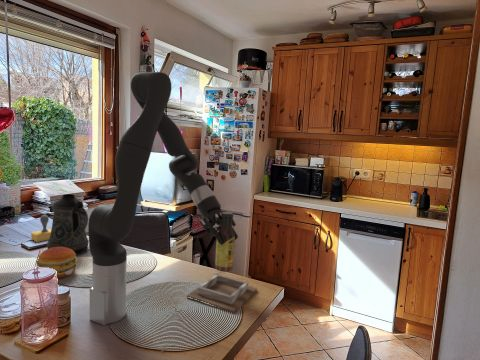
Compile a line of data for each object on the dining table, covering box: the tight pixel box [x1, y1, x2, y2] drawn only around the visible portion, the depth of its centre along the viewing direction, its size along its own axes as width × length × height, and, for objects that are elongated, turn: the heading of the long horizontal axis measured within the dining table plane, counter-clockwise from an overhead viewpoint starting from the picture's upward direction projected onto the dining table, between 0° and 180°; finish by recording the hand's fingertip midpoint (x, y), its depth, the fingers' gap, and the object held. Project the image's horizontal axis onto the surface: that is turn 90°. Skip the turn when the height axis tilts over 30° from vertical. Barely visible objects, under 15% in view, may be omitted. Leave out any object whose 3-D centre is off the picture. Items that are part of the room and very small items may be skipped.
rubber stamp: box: [30, 214, 52, 243], centre depth 160 cm, size 10×6×12 cm, turn 146°
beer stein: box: [46, 193, 89, 255], centre depth 147 cm, size 16×19×25 cm
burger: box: [36, 247, 78, 279], centre depth 124 cm, size 14×14×10 cm
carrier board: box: [186, 273, 258, 314], centre depth 116 cm, size 18×18×4 cm
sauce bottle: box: [214, 211, 236, 273], centre depth 114 cm, size 6×6×20 cm
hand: (229, 241), depth 113 cm, fingers closed on sauce bottle, 6 cm apart
